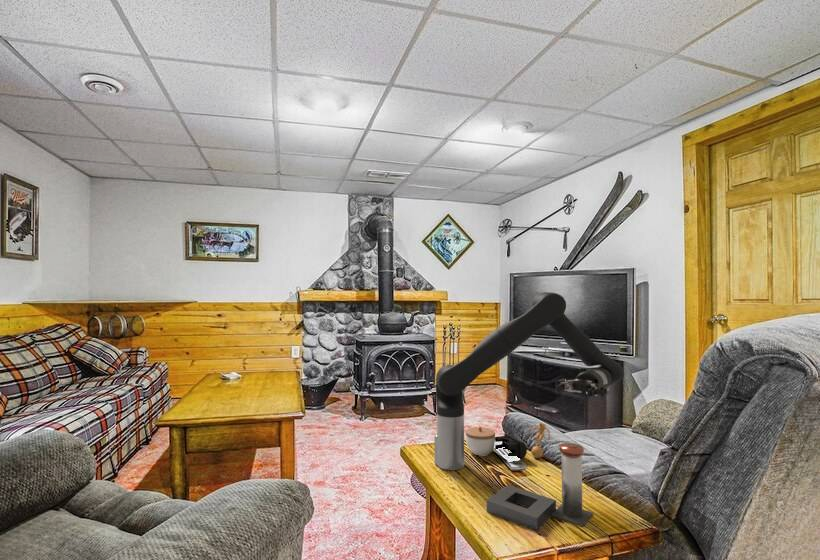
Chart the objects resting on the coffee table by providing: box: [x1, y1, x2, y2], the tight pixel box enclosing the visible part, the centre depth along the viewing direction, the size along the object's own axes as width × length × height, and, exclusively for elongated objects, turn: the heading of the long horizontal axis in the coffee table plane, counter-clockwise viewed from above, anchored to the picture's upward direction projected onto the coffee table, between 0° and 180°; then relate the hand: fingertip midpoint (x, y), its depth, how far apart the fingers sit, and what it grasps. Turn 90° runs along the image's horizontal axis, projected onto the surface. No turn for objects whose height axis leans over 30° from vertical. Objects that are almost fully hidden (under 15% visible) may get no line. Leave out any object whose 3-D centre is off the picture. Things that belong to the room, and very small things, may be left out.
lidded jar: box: [464, 426, 496, 457], centre depth 156 cm, size 11×11×9 cm
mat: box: [551, 503, 594, 528], centre depth 112 cm, size 8×8×1 cm
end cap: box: [494, 432, 528, 460], centre depth 152 cm, size 10×7×7 cm
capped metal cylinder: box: [558, 442, 585, 518], centre depth 113 cm, size 6×6×17 cm
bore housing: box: [486, 484, 557, 531], centre depth 114 cm, size 14×12×3 cm
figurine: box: [530, 422, 551, 459], centre depth 152 cm, size 8×6×12 cm
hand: (573, 391), depth 123 cm, fingers open, 8 cm apart
